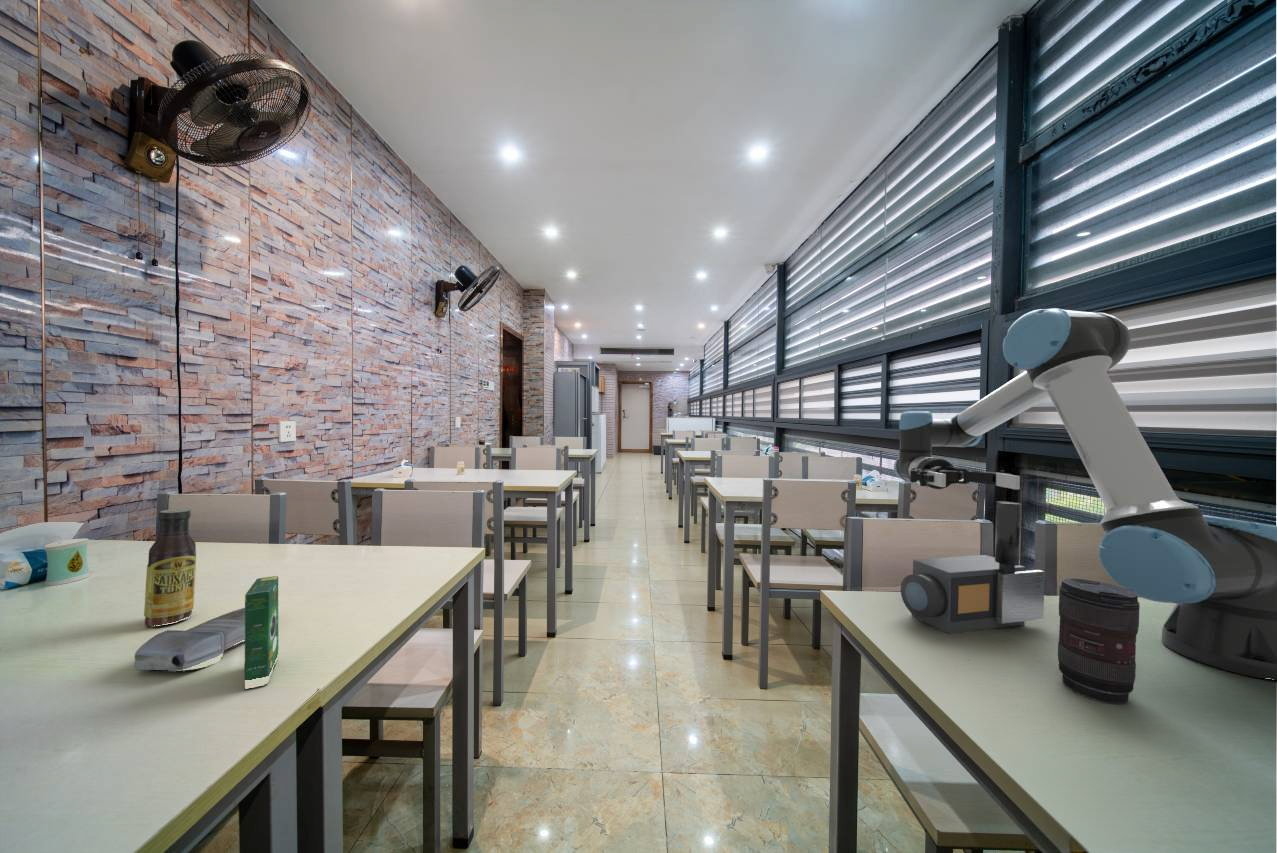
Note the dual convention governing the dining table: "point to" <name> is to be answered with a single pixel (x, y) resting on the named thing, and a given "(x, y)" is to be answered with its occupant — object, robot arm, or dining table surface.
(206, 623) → the handheld device
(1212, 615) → the robot arm
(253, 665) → the coffee box
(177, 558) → the sauce bottle
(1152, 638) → the dining table surface
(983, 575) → the camera housing
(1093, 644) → the camera lens
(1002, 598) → the side door
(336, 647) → the dining table surface
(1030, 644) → the dining table surface
